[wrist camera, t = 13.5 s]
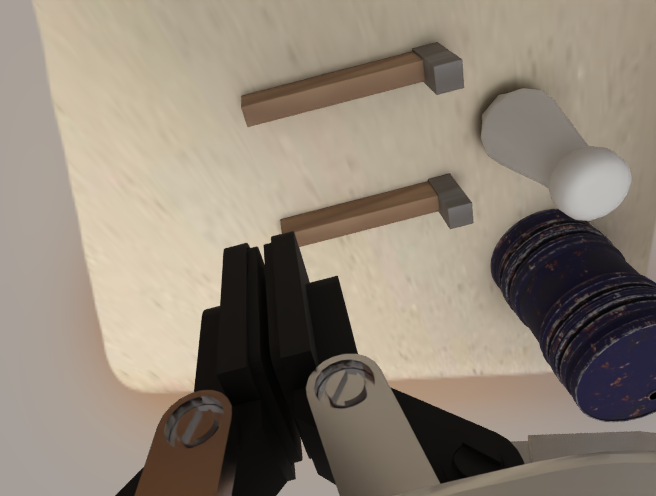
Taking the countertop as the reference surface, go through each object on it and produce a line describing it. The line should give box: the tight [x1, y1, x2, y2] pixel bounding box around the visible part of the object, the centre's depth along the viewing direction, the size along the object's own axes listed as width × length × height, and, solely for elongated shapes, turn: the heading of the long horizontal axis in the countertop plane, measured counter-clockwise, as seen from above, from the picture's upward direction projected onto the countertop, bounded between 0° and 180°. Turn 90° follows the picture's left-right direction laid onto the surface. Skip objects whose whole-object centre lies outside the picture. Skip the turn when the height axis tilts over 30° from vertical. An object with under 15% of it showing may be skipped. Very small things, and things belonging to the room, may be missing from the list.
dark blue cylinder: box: [491, 209, 656, 422], centre depth 42 cm, size 10×10×15 cm
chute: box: [241, 42, 473, 247], centre depth 38 cm, size 12×14×5 cm
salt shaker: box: [481, 88, 632, 221], centre depth 35 cm, size 6×6×13 cm
